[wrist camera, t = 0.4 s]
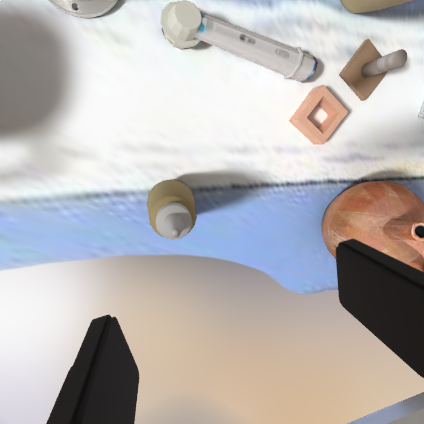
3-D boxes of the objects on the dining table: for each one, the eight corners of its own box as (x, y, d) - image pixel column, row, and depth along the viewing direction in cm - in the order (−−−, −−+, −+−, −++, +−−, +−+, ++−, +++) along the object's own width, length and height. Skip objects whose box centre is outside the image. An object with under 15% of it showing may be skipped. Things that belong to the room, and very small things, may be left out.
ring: (288, 120, 44) (297, 119, 41) (312, 88, 43) (323, 84, 41) (313, 144, 46) (323, 144, 44) (336, 114, 46) (348, 111, 43)
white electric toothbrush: (312, 84, 40) (162, 24, 30) (288, 91, 46) (156, 43, 36) (322, 49, 38) (169, -24, 29) (296, 61, 44) (162, 3, 35)
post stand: (339, 74, 44) (373, 61, 37) (364, 41, 43) (403, 20, 36) (361, 100, 46) (397, 92, 39) (385, 69, 45) (426, 55, 38)
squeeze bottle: (199, 188, 44) (222, 215, 27) (181, 226, 46) (191, 274, 29) (159, 169, 42) (156, 185, 25) (141, 209, 43) (126, 250, 26)
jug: (394, 218, 55) (514, 256, 36) (336, 270, 56) (423, 334, 37) (357, 158, 49) (479, 166, 30) (293, 218, 50) (371, 263, 31)
